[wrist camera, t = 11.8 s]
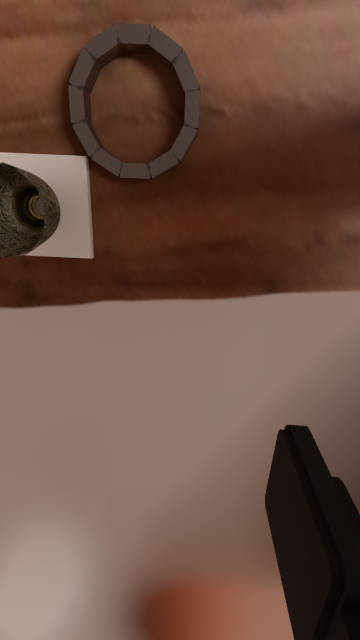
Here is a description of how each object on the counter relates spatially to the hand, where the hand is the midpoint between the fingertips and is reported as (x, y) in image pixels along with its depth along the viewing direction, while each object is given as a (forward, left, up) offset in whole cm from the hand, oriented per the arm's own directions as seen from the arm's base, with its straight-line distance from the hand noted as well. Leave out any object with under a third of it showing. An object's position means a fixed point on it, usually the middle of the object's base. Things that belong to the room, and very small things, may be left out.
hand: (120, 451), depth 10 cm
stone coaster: (+14, -5, -28) cm, 32 cm away
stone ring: (+4, -14, -28) cm, 32 cm away
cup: (+14, -5, -27) cm, 31 cm away
